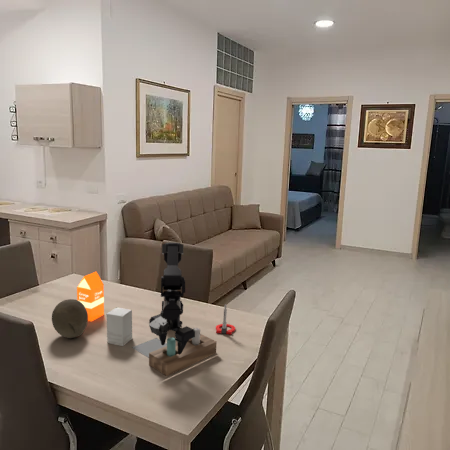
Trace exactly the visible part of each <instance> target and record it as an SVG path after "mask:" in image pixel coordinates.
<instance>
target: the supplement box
mask: <svg viewBox="0 0 450 450" xmlns="http://www.w3.org/2000/svg"><path fill="white" fill-rule="evenodd" d="M106 337H107V339H106V340H107V341H106V342H107V343H108V344H111V345H115V346H121V347H123V346H125V345H126V344H127V343H129V342H130V341H131V340H132V339H133V310H132V309H129V308H123V307H119V306H118V307H115V308H113V309H112V310H110V311H109V312H106Z"/></svg>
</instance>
